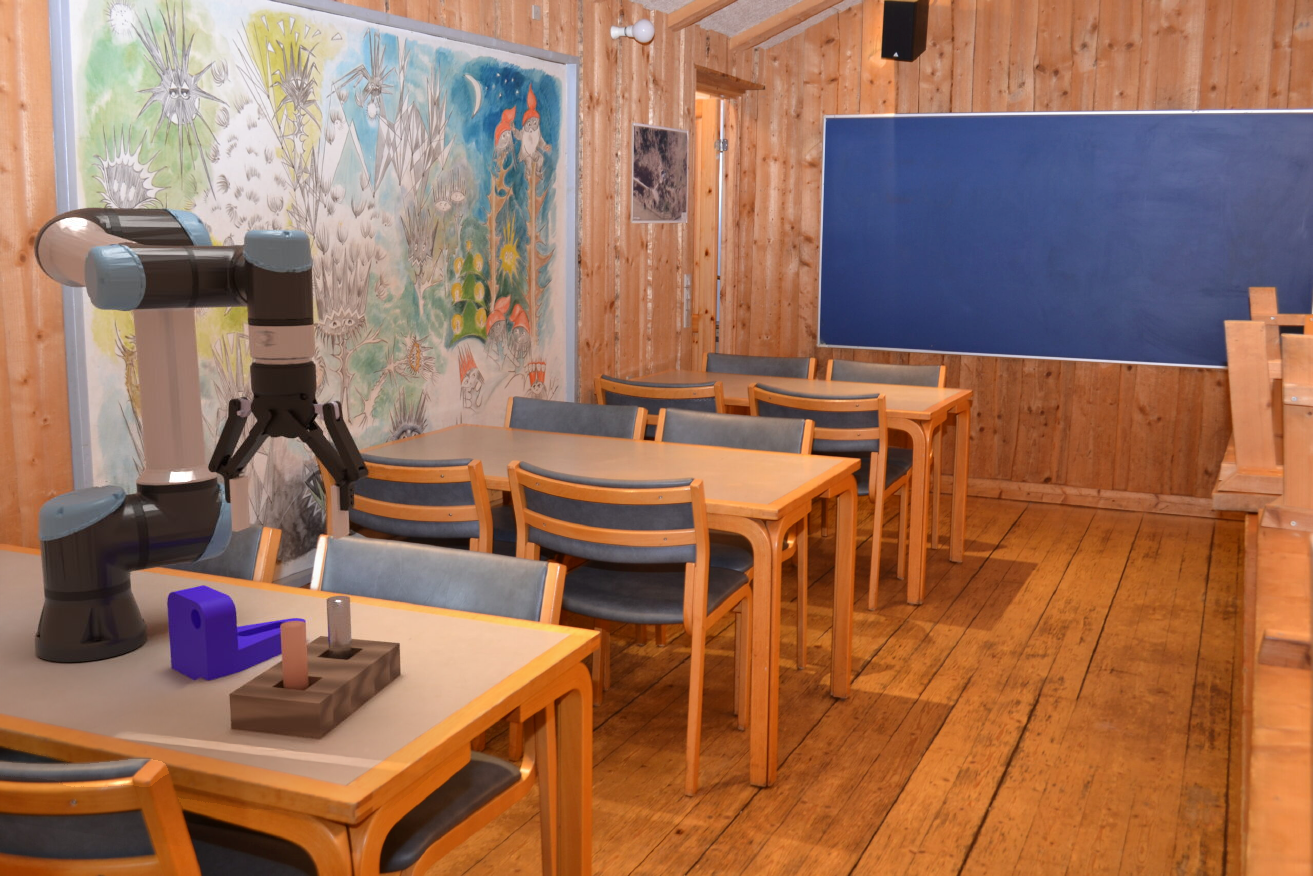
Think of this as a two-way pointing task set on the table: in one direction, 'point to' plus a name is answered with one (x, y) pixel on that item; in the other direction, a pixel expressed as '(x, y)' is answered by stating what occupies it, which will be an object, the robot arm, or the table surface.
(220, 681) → the table surface
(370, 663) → the hole block
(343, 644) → the grey peg
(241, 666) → the bracket
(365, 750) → the table surface
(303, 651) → the peg
